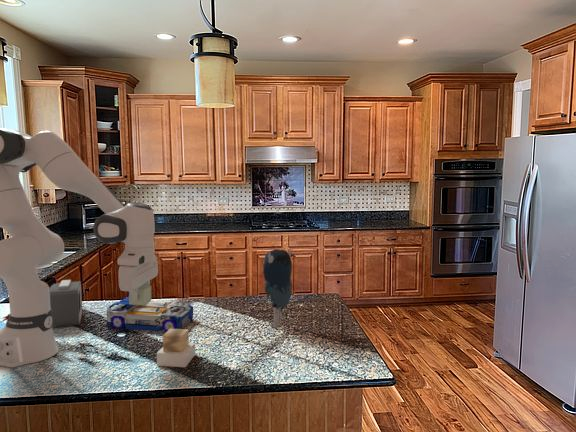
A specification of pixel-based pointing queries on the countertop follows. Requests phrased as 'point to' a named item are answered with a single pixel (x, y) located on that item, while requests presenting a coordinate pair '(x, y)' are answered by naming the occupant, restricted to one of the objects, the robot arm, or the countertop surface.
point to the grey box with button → (66, 303)
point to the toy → (278, 281)
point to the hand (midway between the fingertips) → (140, 297)
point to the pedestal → (176, 357)
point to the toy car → (149, 316)
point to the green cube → (142, 295)
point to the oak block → (175, 340)
